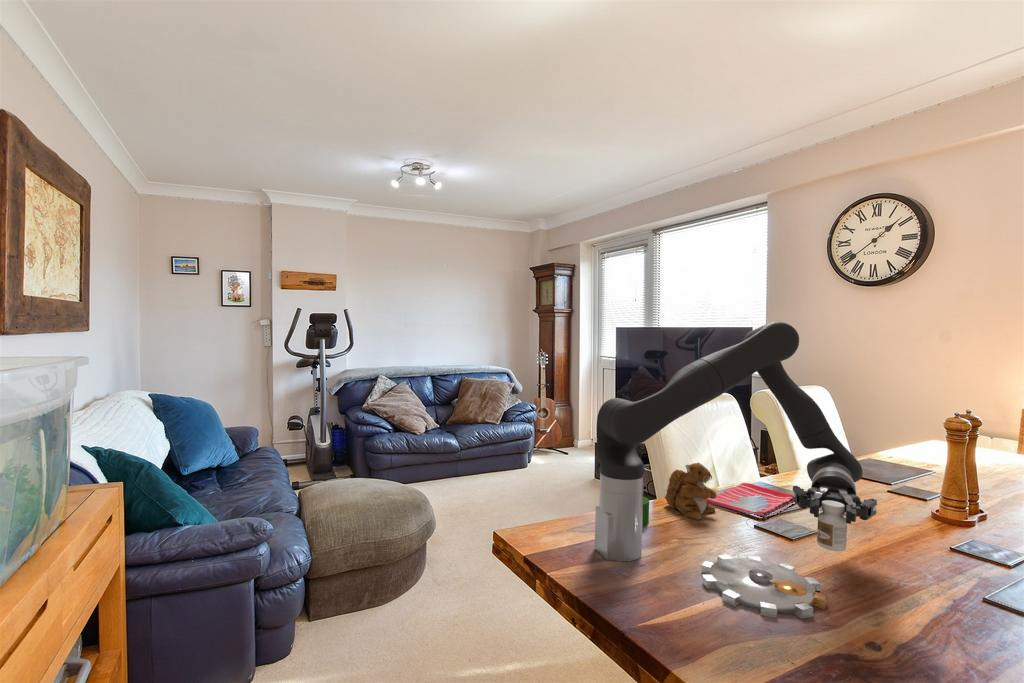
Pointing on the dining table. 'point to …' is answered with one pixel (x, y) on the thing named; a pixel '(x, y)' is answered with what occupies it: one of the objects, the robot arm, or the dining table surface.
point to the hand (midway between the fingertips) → (832, 514)
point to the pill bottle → (832, 526)
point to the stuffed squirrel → (690, 491)
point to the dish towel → (746, 489)
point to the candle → (645, 511)
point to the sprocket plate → (763, 586)
